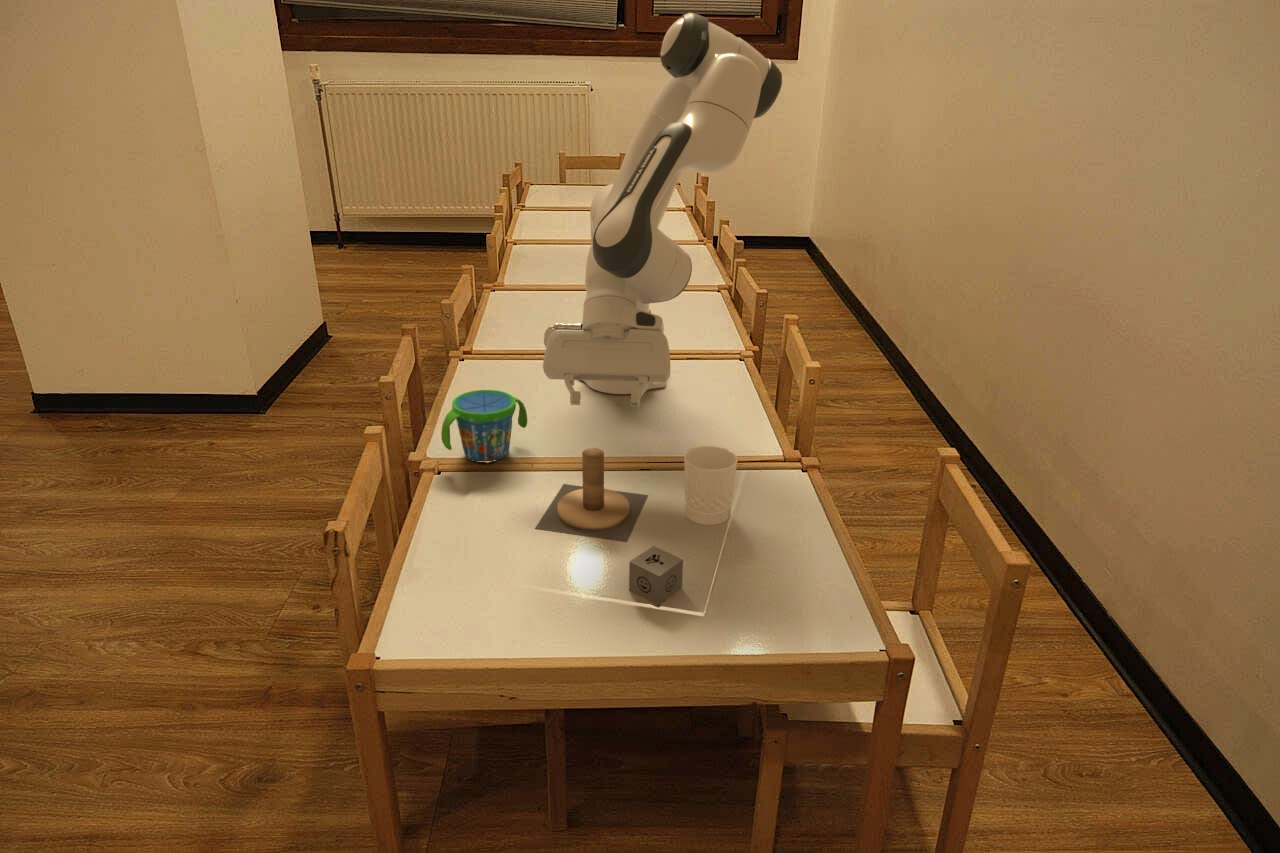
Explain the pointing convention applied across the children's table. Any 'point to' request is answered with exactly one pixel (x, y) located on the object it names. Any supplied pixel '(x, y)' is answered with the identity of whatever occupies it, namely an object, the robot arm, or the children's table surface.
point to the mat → (617, 533)
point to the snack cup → (483, 423)
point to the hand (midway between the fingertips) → (605, 404)
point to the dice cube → (655, 575)
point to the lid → (593, 498)
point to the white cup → (709, 484)
